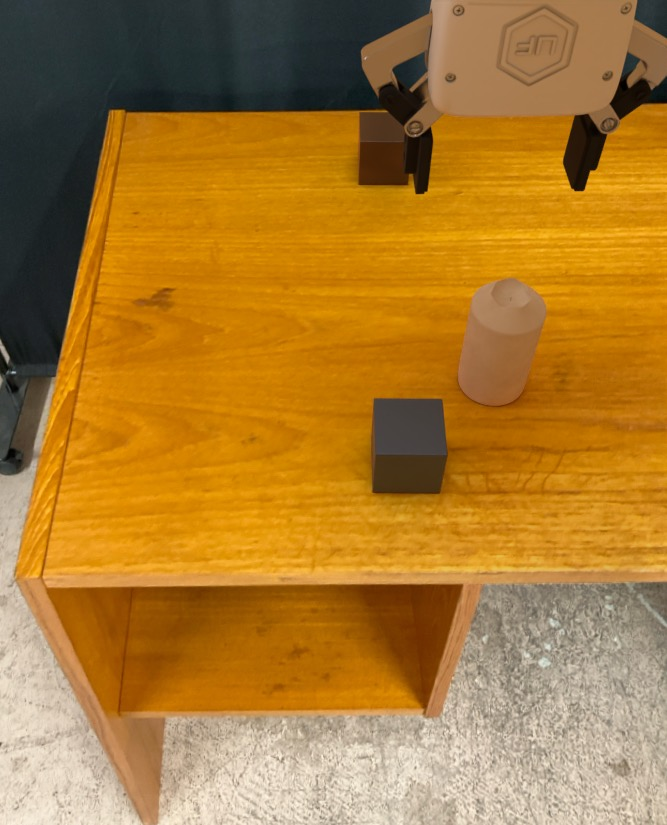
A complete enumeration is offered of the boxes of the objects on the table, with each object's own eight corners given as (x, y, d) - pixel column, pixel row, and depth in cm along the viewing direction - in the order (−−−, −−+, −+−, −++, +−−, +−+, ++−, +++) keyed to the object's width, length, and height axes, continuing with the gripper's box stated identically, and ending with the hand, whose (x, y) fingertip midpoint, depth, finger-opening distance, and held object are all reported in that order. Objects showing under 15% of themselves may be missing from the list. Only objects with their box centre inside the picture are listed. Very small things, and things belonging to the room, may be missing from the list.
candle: (533, 402, 66) (561, 314, 58) (466, 411, 65) (486, 323, 57) (513, 351, 69) (537, 262, 61) (449, 359, 68) (465, 270, 60)
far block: (405, 155, 86) (409, 112, 82) (408, 185, 83) (412, 141, 79) (358, 154, 86) (359, 111, 82) (358, 184, 83) (359, 141, 79)
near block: (435, 438, 63) (442, 398, 59) (440, 493, 60) (447, 455, 56) (370, 437, 63) (373, 397, 59) (372, 493, 60) (375, 454, 56)
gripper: (372, -98, 35) (360, 221, 49) (772, -102, 35) (649, 215, 49) (362, -162, 40) (354, 145, 53) (716, -165, 40) (618, 141, 54)
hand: (495, 179), depth 51 cm, fingers open, 9 cm apart
